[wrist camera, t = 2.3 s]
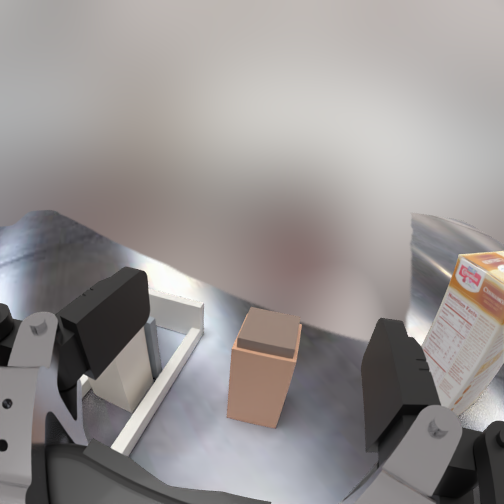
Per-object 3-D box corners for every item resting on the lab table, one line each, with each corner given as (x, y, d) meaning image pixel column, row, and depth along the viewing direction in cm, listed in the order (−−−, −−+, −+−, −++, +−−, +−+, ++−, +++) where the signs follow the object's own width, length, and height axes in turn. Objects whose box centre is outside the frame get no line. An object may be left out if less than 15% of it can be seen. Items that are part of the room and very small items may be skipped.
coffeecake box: (451, 370, 31) (509, 248, 23) (479, 399, 25) (550, 274, 17) (382, 406, 27) (456, 250, 19) (413, 448, 20) (520, 291, 13)
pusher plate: (158, 379, 28) (150, 323, 25) (115, 361, 29) (102, 306, 26) (173, 357, 32) (169, 302, 28) (132, 342, 33) (123, 289, 29)
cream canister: (132, 413, 23) (107, 332, 19) (94, 394, 24) (65, 313, 20) (153, 381, 28) (140, 300, 23) (117, 367, 29) (99, 287, 24)
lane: (123, 464, 17) (107, 440, 15) (51, 420, 19) (32, 390, 17) (203, 333, 37) (203, 302, 35) (145, 316, 38) (141, 286, 36)
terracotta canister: (275, 428, 24) (298, 352, 20) (226, 417, 25) (232, 338, 21) (283, 393, 29) (304, 315, 24) (239, 383, 29) (248, 304, 25)
